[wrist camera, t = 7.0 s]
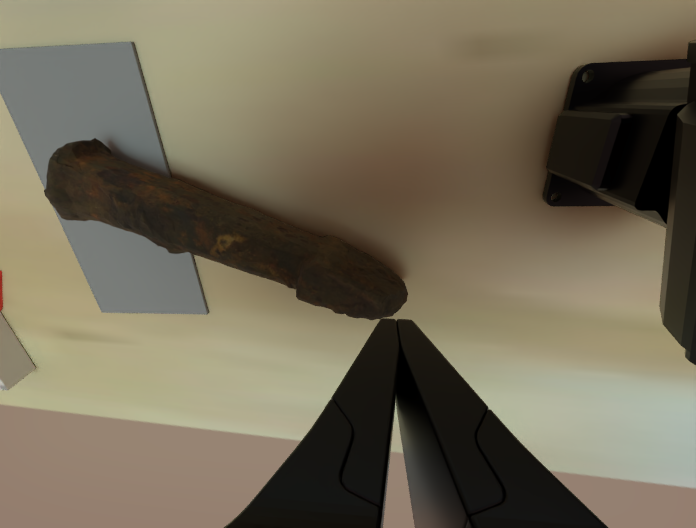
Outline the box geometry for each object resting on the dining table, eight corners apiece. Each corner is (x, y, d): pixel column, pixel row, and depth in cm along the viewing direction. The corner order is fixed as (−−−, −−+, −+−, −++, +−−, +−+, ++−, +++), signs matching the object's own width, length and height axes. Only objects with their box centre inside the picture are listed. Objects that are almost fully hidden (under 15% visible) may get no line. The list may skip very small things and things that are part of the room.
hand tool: (98, 199, 19) (25, 227, 15) (102, 133, 18) (20, 145, 13) (384, 310, 22) (387, 360, 18) (412, 263, 20) (423, 306, 16)
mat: (133, 42, 16) (130, 41, 15) (208, 312, 23) (207, 314, 23) (-16, 50, 16) (-20, 50, 16) (103, 310, 24) (101, 312, 23)
